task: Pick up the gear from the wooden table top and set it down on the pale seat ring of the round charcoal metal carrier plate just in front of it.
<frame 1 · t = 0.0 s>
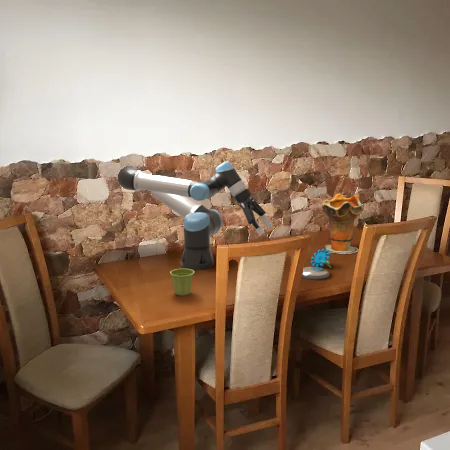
hand: (266, 230, 237), 15 cm above the table, tool tilted 35°, fingers open, 13 cm apart
carrier plate: (313, 274, 223), on the table
decorative vase: (340, 249, 262), on the table
plant pot: (182, 293, 203), on the table
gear: (320, 266, 235), on the table
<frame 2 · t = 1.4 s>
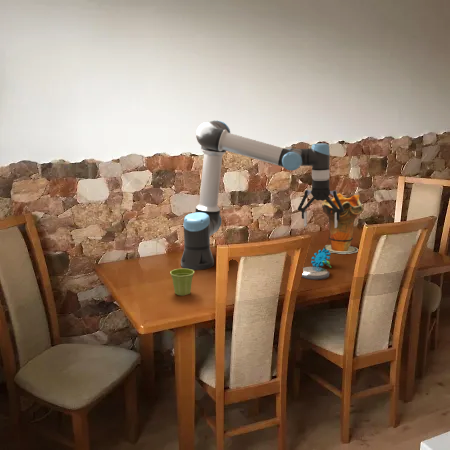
hand: (320, 226, 231), 18 cm above the table, tool pointing down, fingers open, 13 cm apart
nothing on the table moved.
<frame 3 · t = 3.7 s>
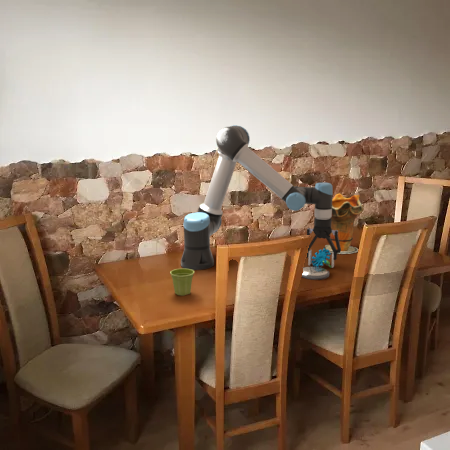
hand: (321, 265, 235), 0 cm above the table, tool pointing down, fingers closed on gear, 10 cm apart
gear: (321, 266, 235), on the table, touching gripper
everything else where it was.
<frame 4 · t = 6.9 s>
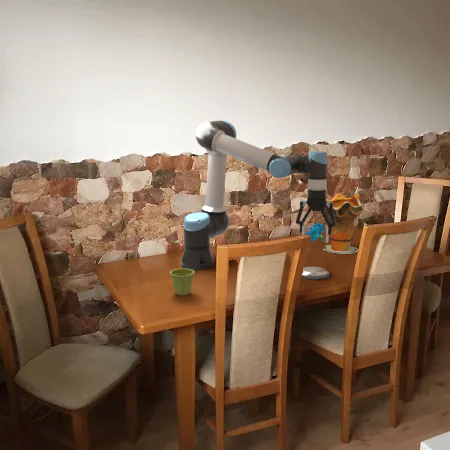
hand: (315, 240, 220), 15 cm above the table, tool pointing down, fingers closed on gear, 9 cm apart
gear: (315, 241, 220), point 15 cm above the table, touching gripper
everything else where it was.
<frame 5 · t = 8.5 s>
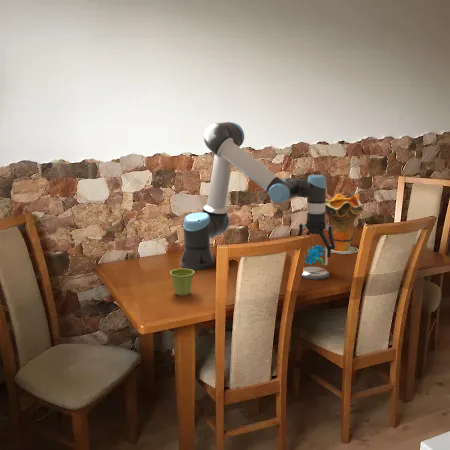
hand: (314, 263, 222), 5 cm above the table, tool pointing down, fingers closed on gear, 9 cm apart
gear: (314, 263, 222), point 5 cm above the table, touching gripper
everything else where it was.
when the fingers open (3 cm above the table, at t = 9.9 s): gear drops 1 cm, resting on carrier plate.
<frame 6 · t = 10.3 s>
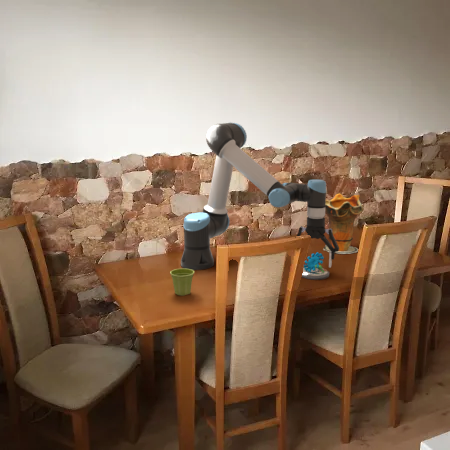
hand: (314, 265, 222), 4 cm above the table, tool pointing down, fingers open, 13 cm apart
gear: (313, 271, 223), point 1 cm above the table, touching carrier plate
everything else where it was.
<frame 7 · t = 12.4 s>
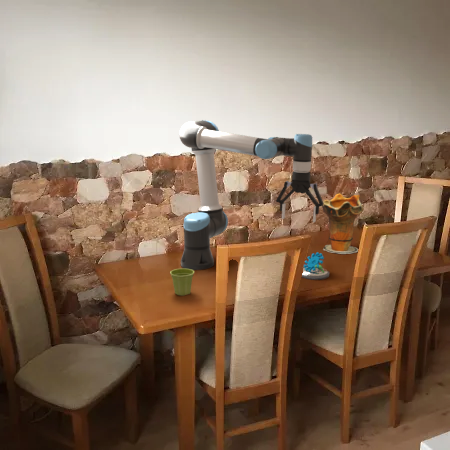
hand: (298, 220, 224), 23 cm above the table, tool pointing down, fingers open, 13 cm apart
nothing on the table moved.
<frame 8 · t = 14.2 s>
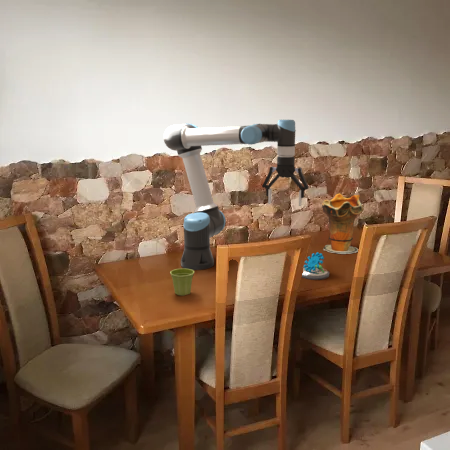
hand: (284, 204, 228), 29 cm above the table, tool pointing down, fingers open, 13 cm apart
nothing on the table moved.
at the end: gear inside the target area on the carrier plate (0.3 cm from its centre), point 1.5 cm above the carrier plate's base; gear touching carrier plate; the gripper is holding nothing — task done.
